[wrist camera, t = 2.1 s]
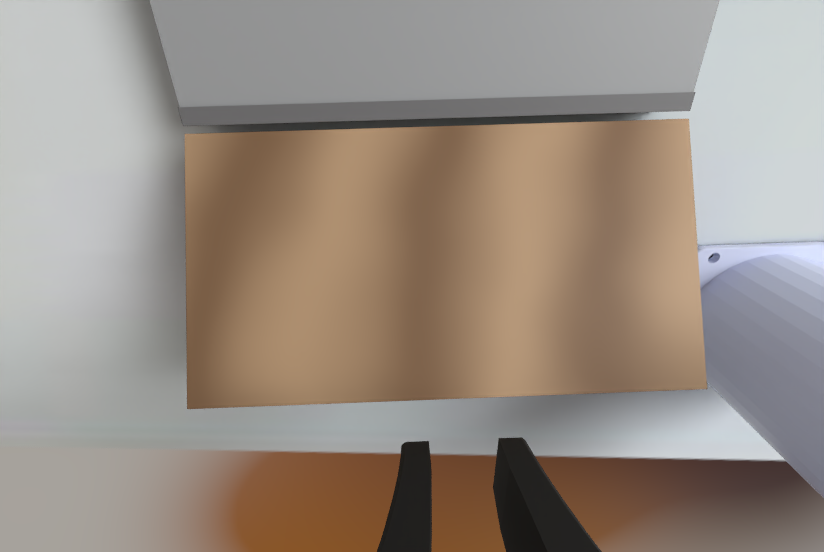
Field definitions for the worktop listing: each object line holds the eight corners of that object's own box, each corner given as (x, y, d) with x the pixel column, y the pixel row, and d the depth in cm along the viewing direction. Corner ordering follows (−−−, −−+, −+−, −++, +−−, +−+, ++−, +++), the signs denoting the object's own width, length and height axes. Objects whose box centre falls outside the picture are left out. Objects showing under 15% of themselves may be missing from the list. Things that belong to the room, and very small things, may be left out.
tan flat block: (661, 136, 15) (688, 118, 14) (676, 379, 15) (706, 388, 13) (207, 149, 15) (184, 134, 13) (209, 397, 15) (187, 409, 13)
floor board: (725, -139, 12) (769, -169, 10) (662, 107, 15) (690, 110, 14) (140, -126, 12) (103, -155, 10) (204, 121, 15) (183, 126, 13)
